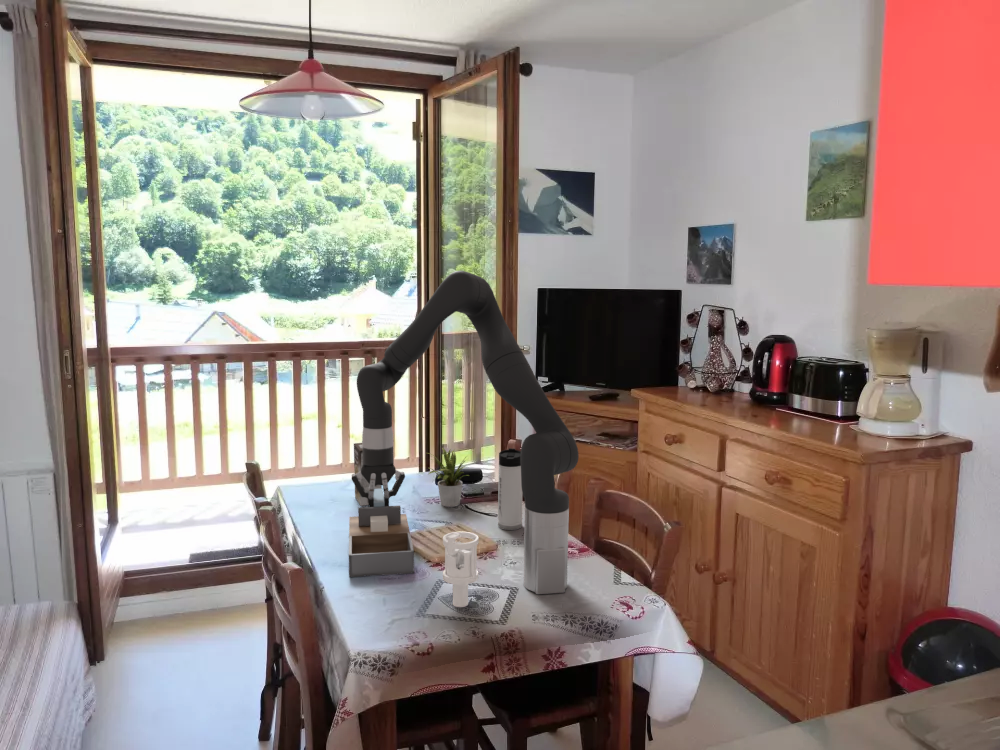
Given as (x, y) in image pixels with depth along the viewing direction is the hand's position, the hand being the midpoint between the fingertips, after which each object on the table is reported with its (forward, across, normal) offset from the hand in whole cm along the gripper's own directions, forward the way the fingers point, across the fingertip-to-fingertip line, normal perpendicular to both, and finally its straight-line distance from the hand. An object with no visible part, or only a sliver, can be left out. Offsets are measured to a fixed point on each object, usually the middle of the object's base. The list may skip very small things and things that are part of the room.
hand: (378, 512), depth 191 cm
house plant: (+6, +20, +24) cm, 32 cm away
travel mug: (+7, +34, +3) cm, 35 cm away
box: (+6, 0, -18) cm, 20 cm away
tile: (+1, 0, -9) cm, 9 cm away
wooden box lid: (+6, 0, -6) cm, 8 cm away
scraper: (+1, 0, +2) cm, 2 cm away
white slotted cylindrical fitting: (+6, +15, -42) cm, 45 cm away
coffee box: (+6, -2, +30) cm, 31 cm away
